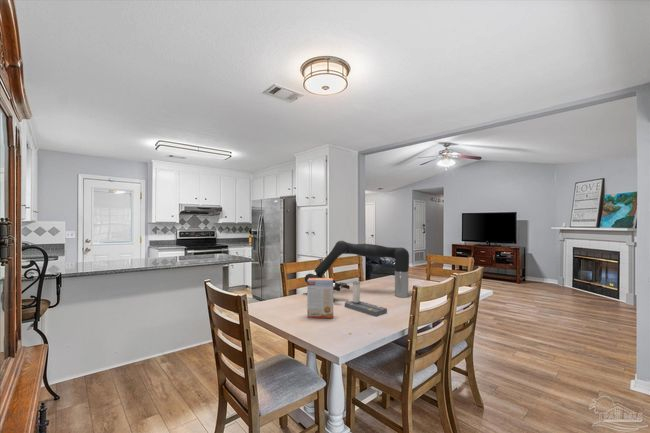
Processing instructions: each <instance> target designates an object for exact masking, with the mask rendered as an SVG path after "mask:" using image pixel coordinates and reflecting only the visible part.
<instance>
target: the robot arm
mask: <svg viewBox="0 0 650 433" xmlns="http://www.w3.org/2000/svg"><path fill="white" fill-rule="evenodd" d="M344 254H345V255H356V256H361V257H365V258H374V259H375V258H376V259H380V258H381V259H383V258H384V259H385V258H387V259H389V258H390V259H394V296H395V297H397V298H408V297H409V267H410V253H409V251H408V250H407V249H406V248H404V247H389V246H384V245H379V244H372V243H351V242H347V241H345V240H338V241H337V242H336V243H335V245H334V247H332V248H331V251H330V252H329V253H328V255H326V257H324V259H323V260H322V261H321V262H320V263H318V265H317V266H316V267H315V269H314V272H315V274H313V273H308V274H306V275H305V276H304V282H305V284H307V280H308V279H309V278H323V276H324V275H325V273H326V272H327V271H328V270H330V268H331V267H332V265H333V264H334V262H335V261H336V260H337V259H338V258H339V257H341V256H342V255H344ZM350 288H351V287H350V285H349V284H348V283H346V282H341V281H340V282H336V281H335V279H333V292H334V291H336V292H340V291H341V289H345V290H350Z"/></svg>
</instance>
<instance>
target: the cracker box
mask: <svg viewBox="0 0 650 433" xmlns="http://www.w3.org/2000/svg"><path fill="white" fill-rule="evenodd" d="M333 280H334V277H333V278H332V277H331V278H330V277H329V278H328V277H322V278H309V279H308V280H307V283H306V284H307V287H306V290H307V293H306V294H307V295H306V296H307V304H306V305H307V308H306V309H307V310H306V311H307V318H308V319H309V318H313V319H317V318H318V319H334V318H333V317H334V290H333Z"/></svg>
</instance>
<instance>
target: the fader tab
mask: <svg viewBox="0 0 650 433" xmlns="http://www.w3.org/2000/svg"><path fill="white" fill-rule="evenodd" d="M360 295H361V281H358V280H354V281H352V300H351V301H352V303H356V304H358V303H361V301H362V300H361V296H360Z"/></svg>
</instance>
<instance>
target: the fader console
mask: <svg viewBox="0 0 650 433" xmlns="http://www.w3.org/2000/svg"><path fill="white" fill-rule="evenodd" d="M352 301H353V300H351V301H347V302H344V308H346V309H350V310H353V311H357V312H360V313H363V314H366V315H370V316H373V317H378V316H381V315H385V314H387V313H388V308H387V307H383V306H380V305H376V304H373V303H368V302H365V301H362V300H360V301H361V303H358V304H356V303H352Z"/></svg>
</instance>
